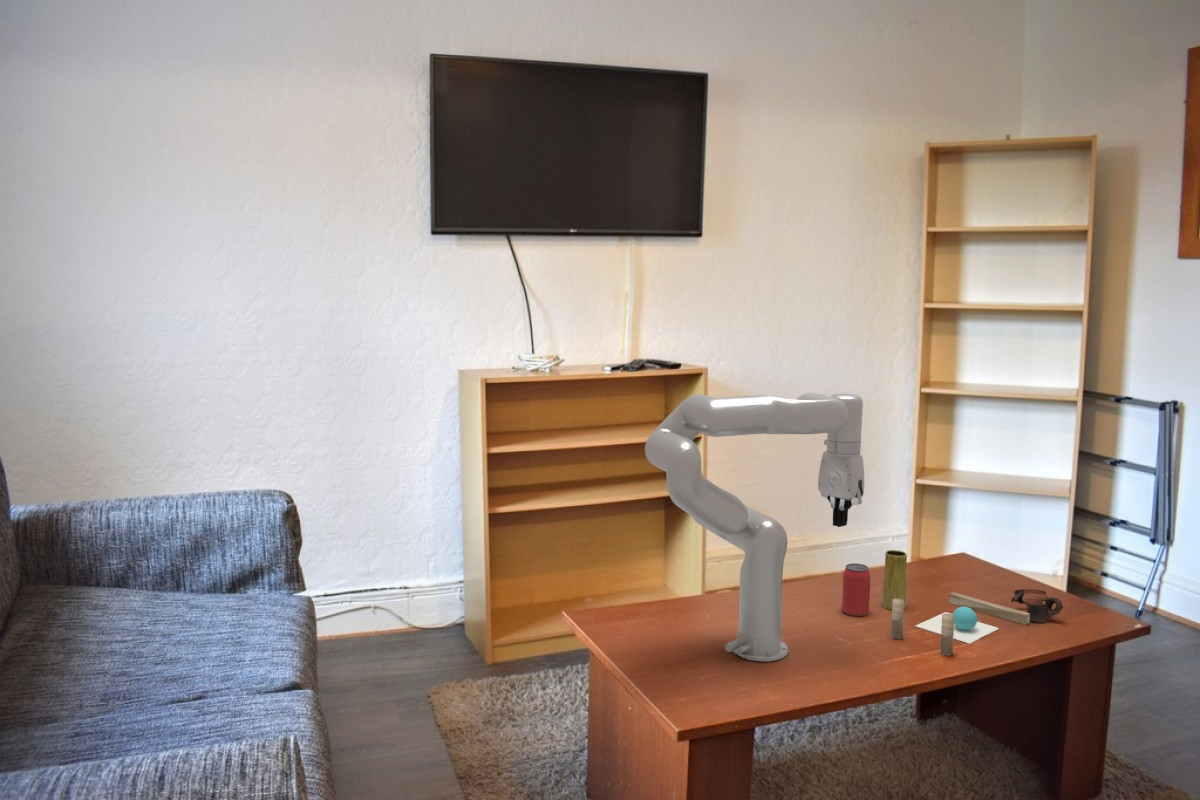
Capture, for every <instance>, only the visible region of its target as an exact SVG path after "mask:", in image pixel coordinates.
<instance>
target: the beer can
mask: <svg viewBox="0 0 1200 800" xmlns="http://www.w3.org/2000/svg"><path fill="white" fill-rule="evenodd" d="M869 569H870V568H869V567H868V566H867V565H866V564H862V563H854V562H853V563H848V564H846V565H845V568H844V570H843V575H842V600H841V601H842V604H841V605H842V606H841V610H842V612H843V613H845V614H846V615H849V616H853V617H864V616H866V615H868V614H869V612H870V599H871V597H870V595H871V593H870V592H871V591H870V590H871V573H870V571H869Z"/></svg>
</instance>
